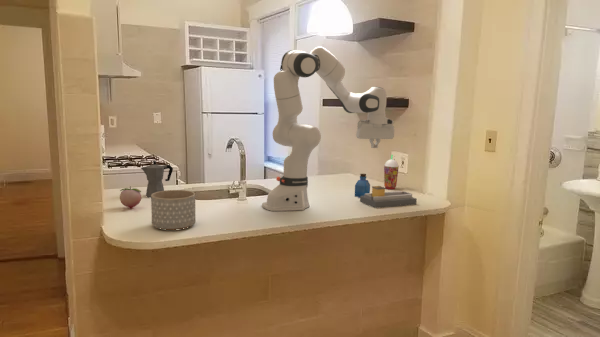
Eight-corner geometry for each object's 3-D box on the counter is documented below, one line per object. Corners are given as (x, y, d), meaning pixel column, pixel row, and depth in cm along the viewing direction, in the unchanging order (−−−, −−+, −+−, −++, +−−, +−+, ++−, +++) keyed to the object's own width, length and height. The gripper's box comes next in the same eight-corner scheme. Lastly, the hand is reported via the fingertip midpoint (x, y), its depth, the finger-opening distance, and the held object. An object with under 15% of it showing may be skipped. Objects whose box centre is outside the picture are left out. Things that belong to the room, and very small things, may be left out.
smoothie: (379, 187, 261) (381, 154, 258) (391, 186, 265) (393, 153, 262) (388, 190, 254) (390, 155, 251) (400, 189, 258) (402, 155, 255)
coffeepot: (143, 198, 218) (141, 162, 215) (140, 195, 226) (139, 160, 223) (175, 196, 225) (174, 161, 222) (171, 193, 233) (170, 158, 230)
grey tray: (375, 208, 211) (375, 198, 210) (359, 201, 224) (360, 192, 223) (416, 204, 221) (416, 195, 220) (399, 198, 233) (399, 189, 233)
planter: (160, 234, 163) (159, 200, 161) (146, 223, 176) (145, 192, 174) (202, 227, 172) (202, 195, 170) (186, 218, 185) (185, 188, 183)
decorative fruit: (117, 210, 194) (117, 188, 193) (121, 206, 202) (120, 184, 201) (140, 210, 196) (139, 188, 194) (143, 206, 204) (142, 184, 202)
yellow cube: (377, 198, 216) (377, 188, 215) (371, 196, 221) (371, 186, 220) (384, 198, 218) (385, 187, 217) (378, 196, 223) (379, 185, 222)
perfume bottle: (354, 196, 236) (355, 174, 234) (358, 194, 241) (359, 172, 239) (365, 198, 233) (366, 175, 231) (369, 195, 238) (370, 173, 236)
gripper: (361, 119, 214) (359, 148, 216) (396, 121, 222) (394, 148, 224) (354, 119, 220) (353, 147, 222) (389, 120, 228) (387, 147, 230)
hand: (374, 147), depth 223 cm, fingers closed
